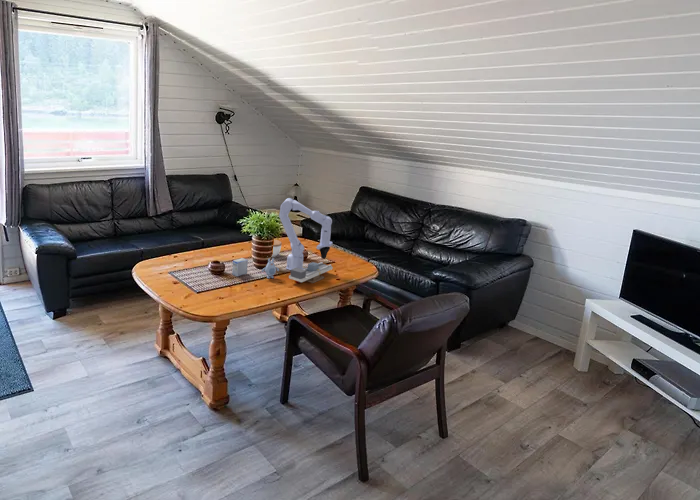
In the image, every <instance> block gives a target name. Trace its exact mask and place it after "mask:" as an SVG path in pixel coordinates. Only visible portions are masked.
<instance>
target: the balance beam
mask: <svg viewBox="0 0 700 500" xmlns="http://www.w3.org/2000/svg"><path fill="white" fill-rule="evenodd" d="M318 264H319V269H317V270H316V271H313V272H311V271H308V267H305V269H299V268H294V269H291V270H290V275H288V279H290V280H294V281H296V282H298V283H303V282H308V283H311V284H314V283H316V282H319V281H321V280H324V279H325V276H323V275H322V274H324V273H325V274H326V273H327V272H329V271H332V270H333V266H332V264H324V262H322V261H321V262H318Z"/></svg>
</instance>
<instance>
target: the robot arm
mask: <svg viewBox="0 0 700 500" xmlns="http://www.w3.org/2000/svg"><path fill="white" fill-rule="evenodd" d="M291 210H292V211H299V212H301V213H304V214H306V215H307V216H310V219H311V220H313V221H314V222H316V223H318V224H320V225H321V230H320V231H321V232H320V241H319V242H320V243H319V244H318V245H316V250H319V252H320V258H321V259H323V260H325V259H326V257H327V255H328V253H329V251H330V249H331V247H332V246H333V241H331V233H332V232H331V231H332V224H333V219H332V218H331V217H330V216H328V215H327V214H325V215H324V214H323V213H321V212H320V210H312V209H310V208H309V207H306V206H305V205H304V204H303V203H301V202H299V201H298V200H296V199H294V198H292V197H288V198H286V199H285V200H284V201H283V202H282V203H281V204H280V209H279V214H278V217H279V219H280V222H281V224H282V226H283V228H284V231H285V233H286V235H287V238H288V241H289V242H290V248H291V253H289V254H288V255H287V257H286V267H285V269H287V270H289V271H291V269H294V268H299V269H305V268H306V267H305V268H304V267H303V265H304V251H305V246H304V244H302V243H301V240H300V239H299V237H298V235H297V234H296V231H295V228H294V226H293V224H292V221H291V219H290V217H289V214H290V212H291Z"/></svg>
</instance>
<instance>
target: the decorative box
mask: <svg viewBox="0 0 700 500" xmlns="http://www.w3.org/2000/svg"><path fill="white" fill-rule="evenodd" d="M281 248H282V241H281V240H278V239H274V245H273V255H272V257H271V258H275V257H277V256H278V255H279V254H280V252H281Z"/></svg>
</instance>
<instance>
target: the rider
mask: <svg viewBox="0 0 700 500" xmlns="http://www.w3.org/2000/svg"><path fill="white" fill-rule="evenodd" d="M318 263H319V262H318ZM318 263H317V262H314V261H311V262H310V263H308V264H307V268H308V271H311V272H313V271H316V270H317V269H319V264H318Z"/></svg>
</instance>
